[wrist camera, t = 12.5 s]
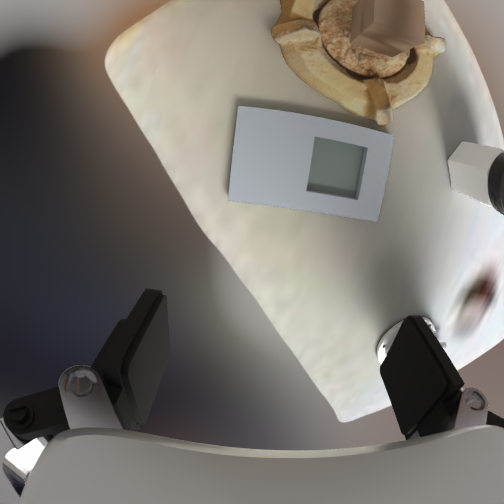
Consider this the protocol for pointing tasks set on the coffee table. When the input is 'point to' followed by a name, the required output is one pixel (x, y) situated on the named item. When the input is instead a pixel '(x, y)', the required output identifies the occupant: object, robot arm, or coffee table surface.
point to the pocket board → (309, 163)
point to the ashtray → (350, 59)
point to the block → (388, 25)
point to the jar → (478, 173)
